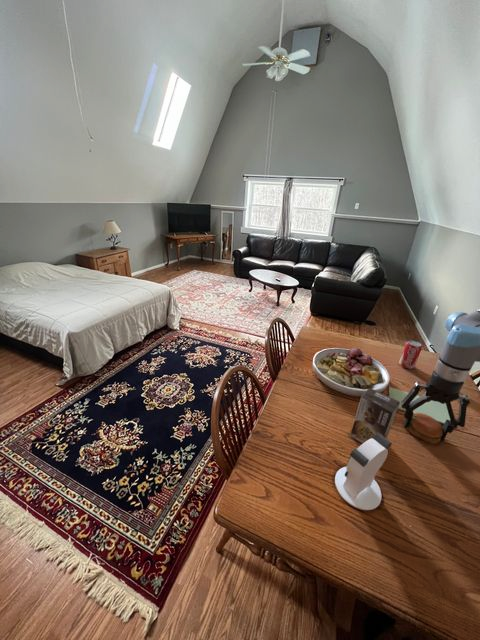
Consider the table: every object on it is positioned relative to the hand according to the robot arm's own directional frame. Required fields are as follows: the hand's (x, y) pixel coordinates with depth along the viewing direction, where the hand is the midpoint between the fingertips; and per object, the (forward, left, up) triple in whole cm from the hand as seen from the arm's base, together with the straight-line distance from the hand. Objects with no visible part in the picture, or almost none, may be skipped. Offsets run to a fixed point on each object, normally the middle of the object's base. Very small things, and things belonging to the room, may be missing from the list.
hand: (423, 431), depth 88 cm
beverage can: (+3, -42, -1) cm, 42 cm away
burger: (0, 0, 0) cm, 0 cm away
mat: (0, -14, 0) cm, 14 cm away
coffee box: (+16, +12, -1) cm, 20 cm away
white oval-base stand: (+17, +30, -1) cm, 34 cm away
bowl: (+26, -19, -1) cm, 32 cm away
